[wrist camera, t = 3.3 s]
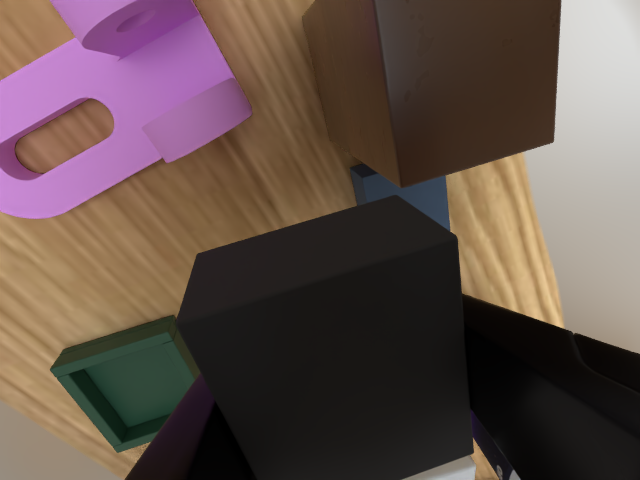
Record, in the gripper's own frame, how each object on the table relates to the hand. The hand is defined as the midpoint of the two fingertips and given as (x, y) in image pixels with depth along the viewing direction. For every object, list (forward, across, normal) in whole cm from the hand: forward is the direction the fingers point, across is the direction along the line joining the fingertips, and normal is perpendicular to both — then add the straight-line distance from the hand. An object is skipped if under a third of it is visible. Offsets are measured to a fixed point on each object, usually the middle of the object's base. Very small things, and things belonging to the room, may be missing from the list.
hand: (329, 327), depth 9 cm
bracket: (+13, +7, -6) cm, 16 cm away
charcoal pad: (0, 0, 0) cm, 0 cm away
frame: (+13, +12, +10) cm, 20 cm away
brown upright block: (+12, -6, -5) cm, 15 cm away
